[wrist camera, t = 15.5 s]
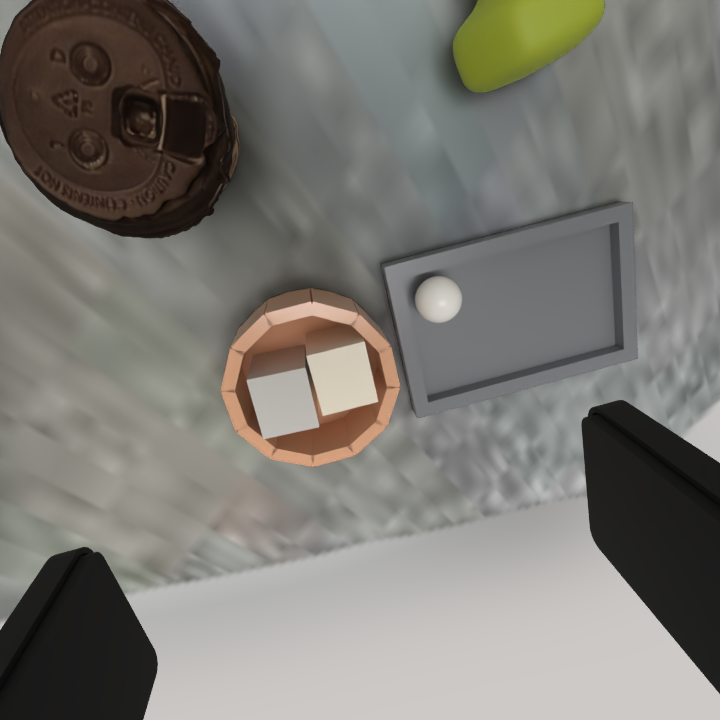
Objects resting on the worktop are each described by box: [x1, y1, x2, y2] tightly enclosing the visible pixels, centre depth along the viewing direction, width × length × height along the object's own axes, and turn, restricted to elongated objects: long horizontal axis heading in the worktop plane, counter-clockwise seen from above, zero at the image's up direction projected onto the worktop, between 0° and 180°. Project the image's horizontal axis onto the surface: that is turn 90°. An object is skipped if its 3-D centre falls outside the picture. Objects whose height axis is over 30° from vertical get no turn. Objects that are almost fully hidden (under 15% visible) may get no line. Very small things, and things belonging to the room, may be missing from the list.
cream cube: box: [305, 324, 378, 416], centre depth 31 cm, size 4×4×4 cm
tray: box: [381, 202, 638, 418], centre depth 33 cm, size 16×11×2 cm, turn 103°
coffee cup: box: [0, 0, 240, 238], centre depth 22 cm, size 9×8×13 cm
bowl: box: [221, 288, 400, 467], centre depth 32 cm, size 10×10×4 cm
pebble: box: [415, 276, 462, 323], centre depth 31 cm, size 3×3×3 cm
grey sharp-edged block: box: [246, 344, 320, 439], centre depth 31 cm, size 4×4×4 cm
